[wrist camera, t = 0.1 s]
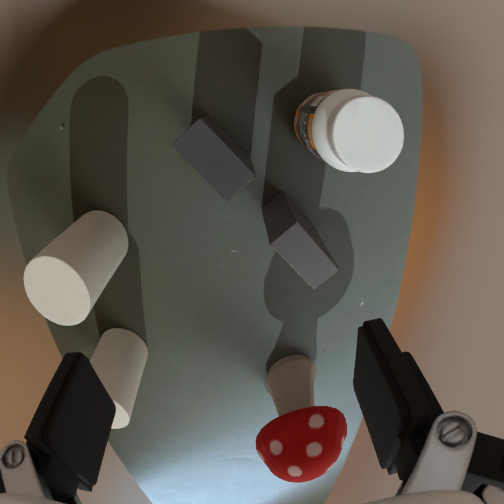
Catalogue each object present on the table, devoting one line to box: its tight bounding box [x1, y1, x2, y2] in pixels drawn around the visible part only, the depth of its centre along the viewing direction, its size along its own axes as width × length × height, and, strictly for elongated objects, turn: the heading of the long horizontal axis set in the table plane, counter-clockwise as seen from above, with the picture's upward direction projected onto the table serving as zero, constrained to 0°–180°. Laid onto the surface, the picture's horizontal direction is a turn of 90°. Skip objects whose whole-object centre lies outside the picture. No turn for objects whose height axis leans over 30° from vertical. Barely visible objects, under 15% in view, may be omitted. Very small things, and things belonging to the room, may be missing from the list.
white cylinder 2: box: [90, 328, 148, 429], centre depth 31 cm, size 6×6×10 cm
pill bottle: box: [294, 89, 404, 173], centre depth 21 cm, size 6×6×10 cm
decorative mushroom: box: [256, 354, 347, 483], centre depth 31 cm, size 10×9×15 cm
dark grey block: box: [172, 116, 256, 201], centre depth 23 cm, size 5×2×8 cm, turn 42°
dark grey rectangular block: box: [262, 191, 339, 290], centre depth 26 cm, size 5×2×8 cm, turn 42°
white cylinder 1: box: [24, 210, 128, 326], centre depth 25 cm, size 6×6×10 cm
